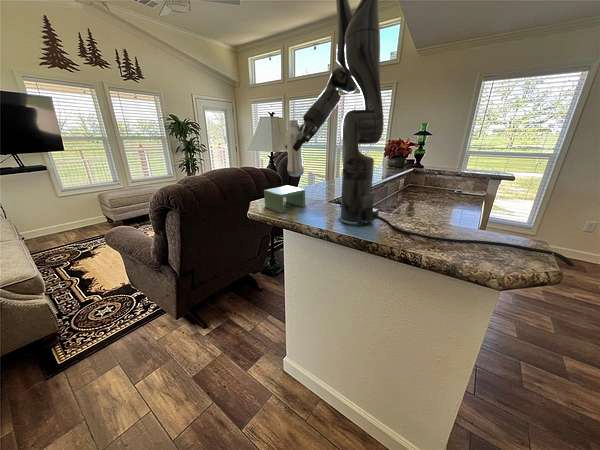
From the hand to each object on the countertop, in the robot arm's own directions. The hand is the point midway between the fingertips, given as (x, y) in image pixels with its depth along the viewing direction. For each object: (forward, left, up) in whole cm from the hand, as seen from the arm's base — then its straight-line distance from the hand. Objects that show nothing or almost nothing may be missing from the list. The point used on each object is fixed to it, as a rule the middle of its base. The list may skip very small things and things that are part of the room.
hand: (290, 149), depth 87 cm
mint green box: (+1, +3, -22) cm, 22 cm away
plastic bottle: (0, -2, -11) cm, 11 cm away
